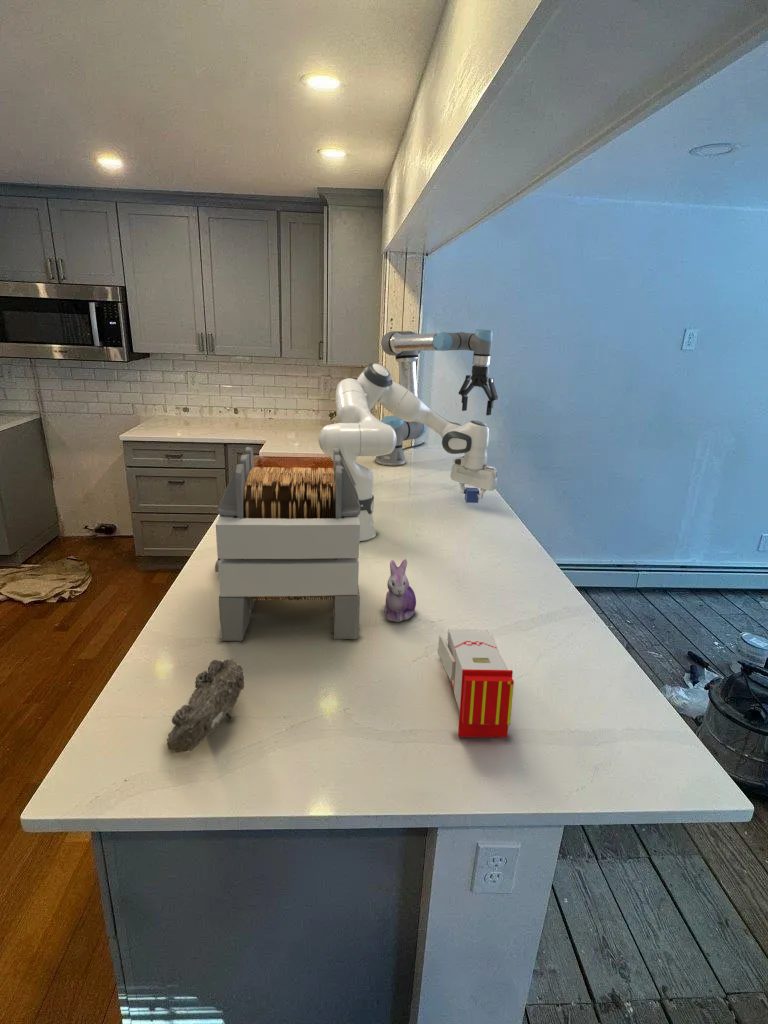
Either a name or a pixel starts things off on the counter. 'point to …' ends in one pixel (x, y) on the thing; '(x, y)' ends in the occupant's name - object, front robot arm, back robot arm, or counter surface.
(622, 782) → the counter surface
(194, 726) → the fossil
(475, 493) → the block
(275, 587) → the transformer
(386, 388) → the front robot arm
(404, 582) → the figurine
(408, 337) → the back robot arm
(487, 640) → the toy
